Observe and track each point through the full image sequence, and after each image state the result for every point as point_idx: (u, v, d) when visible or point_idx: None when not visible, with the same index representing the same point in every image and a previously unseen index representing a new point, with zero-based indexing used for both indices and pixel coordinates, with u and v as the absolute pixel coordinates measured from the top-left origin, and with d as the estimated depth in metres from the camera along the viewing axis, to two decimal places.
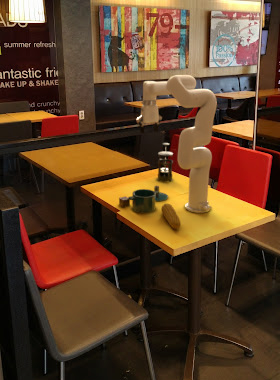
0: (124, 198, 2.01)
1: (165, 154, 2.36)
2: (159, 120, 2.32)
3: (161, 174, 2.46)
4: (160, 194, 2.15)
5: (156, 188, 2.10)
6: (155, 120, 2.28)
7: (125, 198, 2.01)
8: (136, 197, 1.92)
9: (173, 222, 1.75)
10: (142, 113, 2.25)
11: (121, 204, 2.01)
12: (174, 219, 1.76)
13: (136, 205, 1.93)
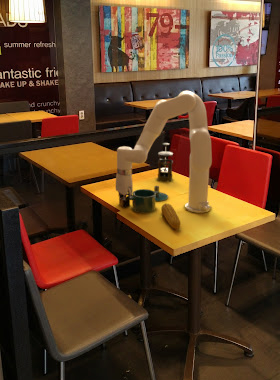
0: (124, 198, 2.01)
1: (165, 154, 2.36)
2: (127, 196, 1.97)
3: (161, 174, 2.46)
4: (160, 194, 2.15)
5: (156, 188, 2.10)
6: (122, 192, 1.97)
7: None
8: (136, 197, 1.92)
9: (173, 222, 1.75)
10: None
11: (121, 204, 2.01)
12: (174, 219, 1.76)
13: (136, 205, 1.93)
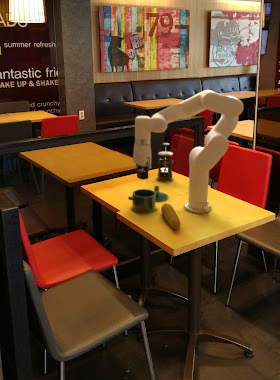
0: (142, 170, 1.94)
1: (165, 154, 2.36)
2: None
3: (161, 174, 2.46)
4: (160, 194, 2.15)
5: (156, 188, 2.10)
6: (140, 163, 1.90)
7: None
8: (136, 197, 1.92)
9: (173, 222, 1.75)
10: None
11: (139, 176, 1.93)
12: (174, 219, 1.76)
13: (136, 205, 1.93)
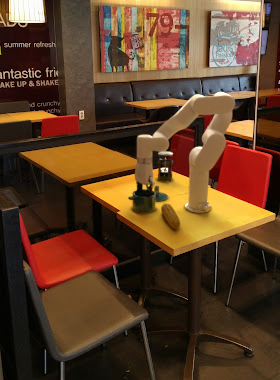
0: None
1: (165, 154, 2.36)
2: None
3: (161, 174, 2.46)
4: (160, 194, 2.15)
5: (156, 188, 2.10)
6: (142, 182, 1.91)
7: None
8: (136, 197, 1.92)
9: (173, 222, 1.75)
10: None
11: None
12: (174, 219, 1.76)
13: (136, 205, 1.93)
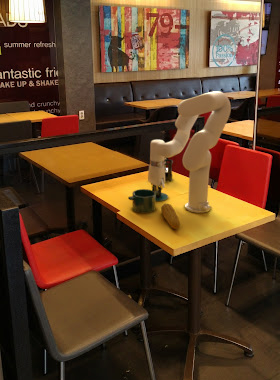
0: None
1: None
2: None
3: None
4: None
5: (156, 188, 2.10)
6: (155, 183, 2.07)
7: None
8: (136, 197, 1.92)
9: (173, 222, 1.75)
10: None
11: None
12: (174, 219, 1.76)
13: (136, 205, 1.93)
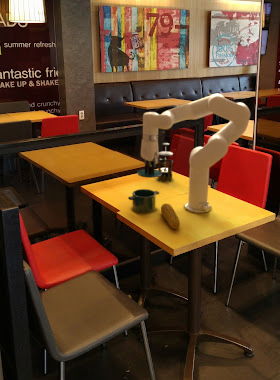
0: None
1: (165, 154, 2.36)
2: (152, 162, 1.96)
3: None
4: None
5: None
6: (147, 158, 1.95)
7: None
8: (136, 197, 1.92)
9: (172, 222, 1.75)
10: None
11: None
12: (173, 219, 1.76)
13: (136, 205, 1.93)
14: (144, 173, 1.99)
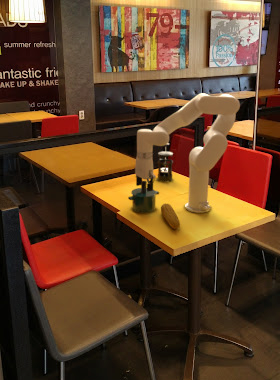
0: None
1: (165, 154, 2.36)
2: None
3: (161, 174, 2.46)
4: None
5: (143, 183, 1.94)
6: (142, 176, 1.91)
7: None
8: (136, 197, 1.92)
9: (172, 222, 1.75)
10: None
11: None
12: (173, 219, 1.76)
13: (136, 205, 1.93)
14: (138, 193, 1.95)
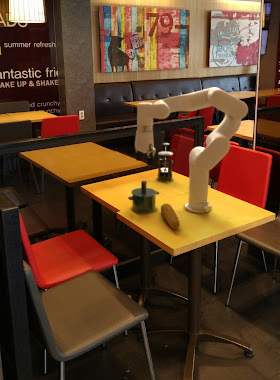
0: None
1: (165, 154, 2.36)
2: (151, 153, 1.85)
3: (161, 174, 2.46)
4: (148, 190, 1.99)
5: (143, 183, 1.94)
6: (142, 150, 1.88)
7: None
8: (136, 197, 1.92)
9: (172, 222, 1.75)
10: None
11: None
12: (173, 219, 1.76)
13: (136, 205, 1.93)
14: (138, 193, 1.95)
